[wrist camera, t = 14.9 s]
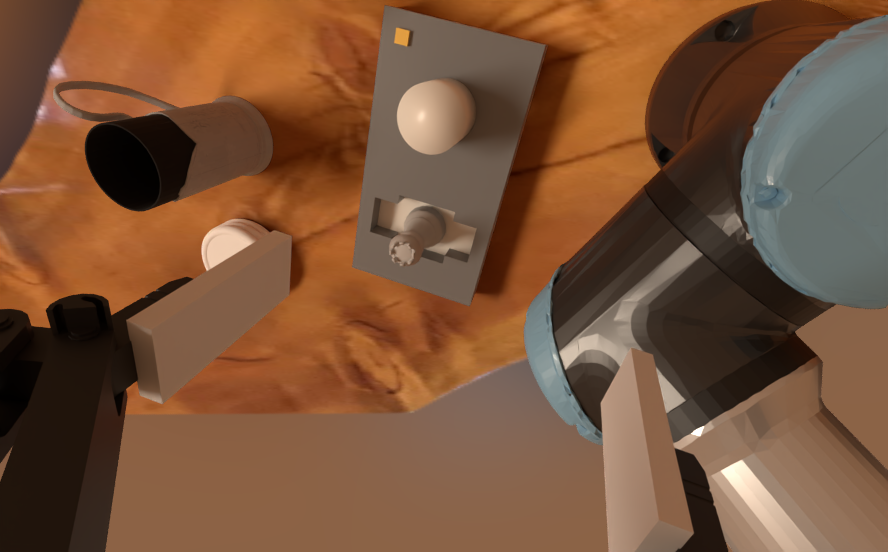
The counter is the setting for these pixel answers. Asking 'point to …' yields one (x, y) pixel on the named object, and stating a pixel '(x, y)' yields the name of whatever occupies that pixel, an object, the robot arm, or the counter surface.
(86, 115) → the glass holder
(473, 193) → the grey panel with recess
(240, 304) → the robot arm
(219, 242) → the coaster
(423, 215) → the rook chess piece
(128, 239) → the counter surface
